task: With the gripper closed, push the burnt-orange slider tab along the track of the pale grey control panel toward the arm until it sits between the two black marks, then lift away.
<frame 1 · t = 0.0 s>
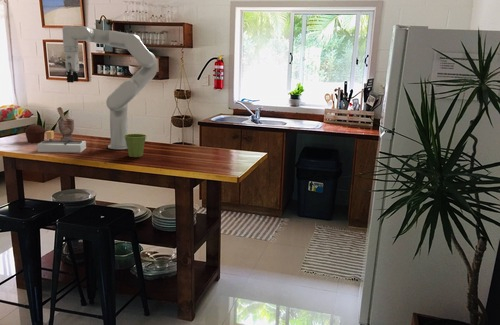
hand: (72, 81, 234), 37 cm above the table, tool pointing down, fingers open, 9 cm apart
plant pot: (135, 156, 227), on the table
muffin: (36, 142, 250), on the table
mortar and pestle: (65, 141, 257), on the table
control panel: (62, 149, 233), on the table
slider tab: (50, 136, 231), point 7 cm above the table, slide at 0.0 cm
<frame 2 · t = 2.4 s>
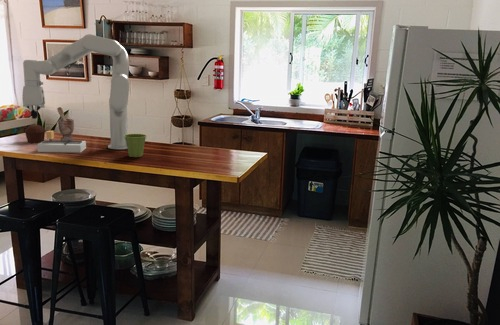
hand: (34, 118, 227), 17 cm above the table, tool pointing down, fingers closed
nothing on the table moved.
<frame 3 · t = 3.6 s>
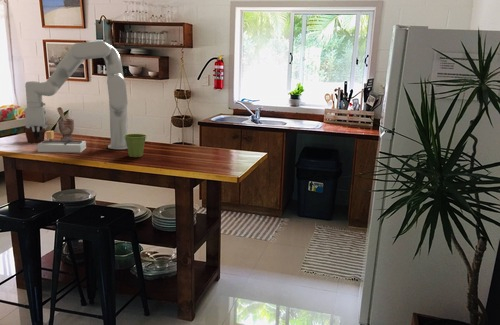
hand: (37, 138, 230), 6 cm above the table, tool pointing down, fingers closed
nothing on the table moved.
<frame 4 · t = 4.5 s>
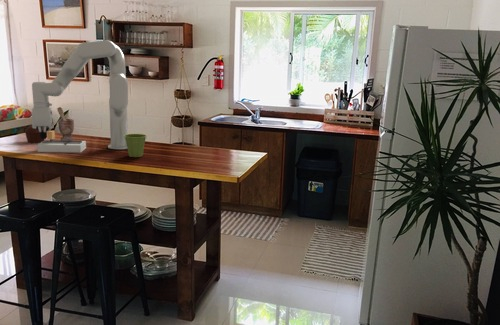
hand: (43, 138, 231), 6 cm above the table, tool pointing down, fingers closed
slider tab: (51, 136, 231), point 7 cm above the table, slide at 0.4 cm, touching gripper
everything else where it was.
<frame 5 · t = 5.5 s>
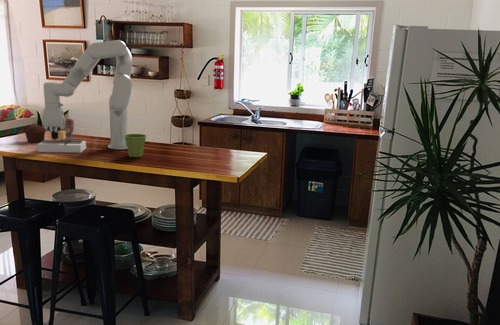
hand: (55, 139, 232), 6 cm above the table, tool pointing down, fingers closed
slider tab: (62, 136, 232), point 7 cm above the table, slide at 6.2 cm, touching gripper
everything else where it was.
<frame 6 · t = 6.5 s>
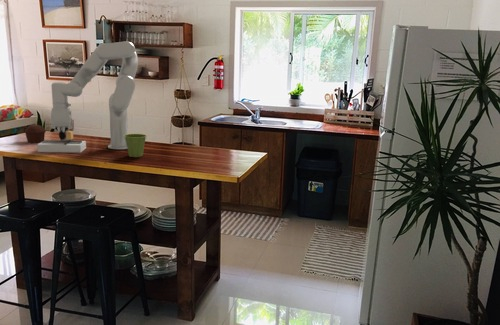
hand: (62, 139, 232), 6 cm above the table, tool pointing down, fingers closed
slider tab: (69, 137, 232), point 7 cm above the table, slide at 10.2 cm, touching gripper
everything else where it was.
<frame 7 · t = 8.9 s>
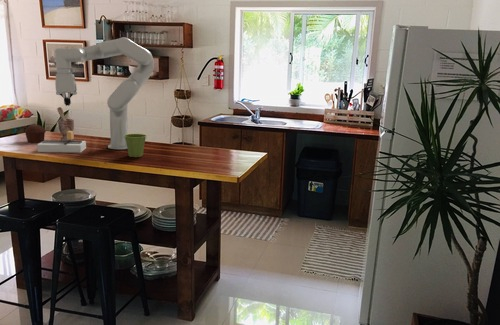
hand: (67, 105, 235), 24 cm above the table, tool pointing down, fingers closed
slider tab: (70, 137, 232), point 7 cm above the table, slide at 10.3 cm
everything else where it was.
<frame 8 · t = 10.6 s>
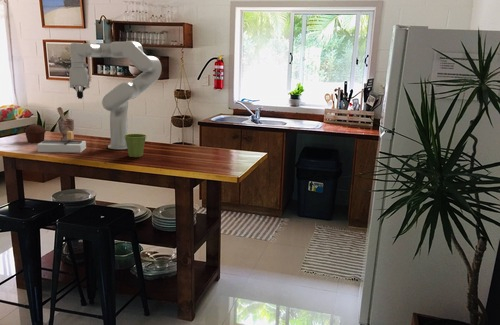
hand: (80, 98, 242), 27 cm above the table, tool pointing down, fingers closed
nothing on the table moved.
at the end: slider tab slide at 10.3 cm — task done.
